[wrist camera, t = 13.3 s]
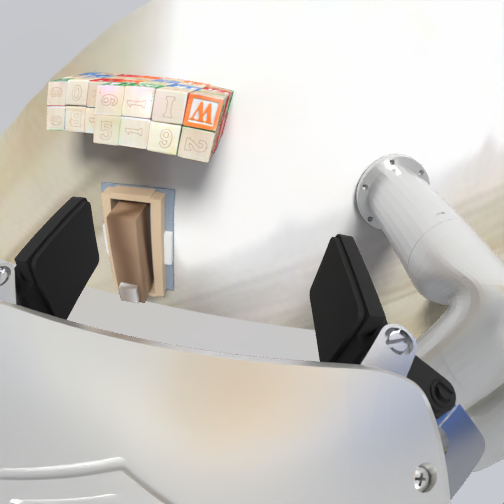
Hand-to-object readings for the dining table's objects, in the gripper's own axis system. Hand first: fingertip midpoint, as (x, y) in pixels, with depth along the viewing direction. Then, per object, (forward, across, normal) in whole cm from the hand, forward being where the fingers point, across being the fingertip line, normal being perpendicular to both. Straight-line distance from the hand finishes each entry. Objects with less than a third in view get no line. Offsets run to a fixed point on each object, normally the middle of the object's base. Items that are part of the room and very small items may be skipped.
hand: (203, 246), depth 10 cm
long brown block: (+28, +14, +22) cm, 38 cm away
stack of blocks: (+29, +12, -1) cm, 31 cm away
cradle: (+28, +14, +22) cm, 38 cm away
